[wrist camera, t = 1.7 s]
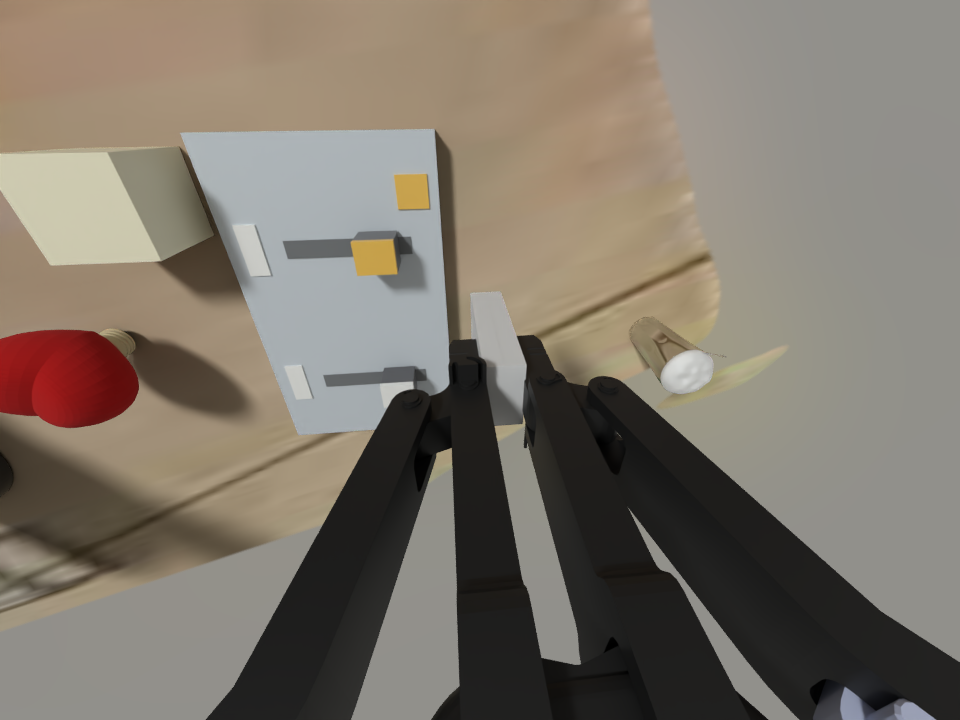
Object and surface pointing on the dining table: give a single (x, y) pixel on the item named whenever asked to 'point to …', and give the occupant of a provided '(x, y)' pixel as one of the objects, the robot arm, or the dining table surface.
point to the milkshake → (672, 356)
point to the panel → (332, 260)
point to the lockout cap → (105, 203)
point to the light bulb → (67, 376)
